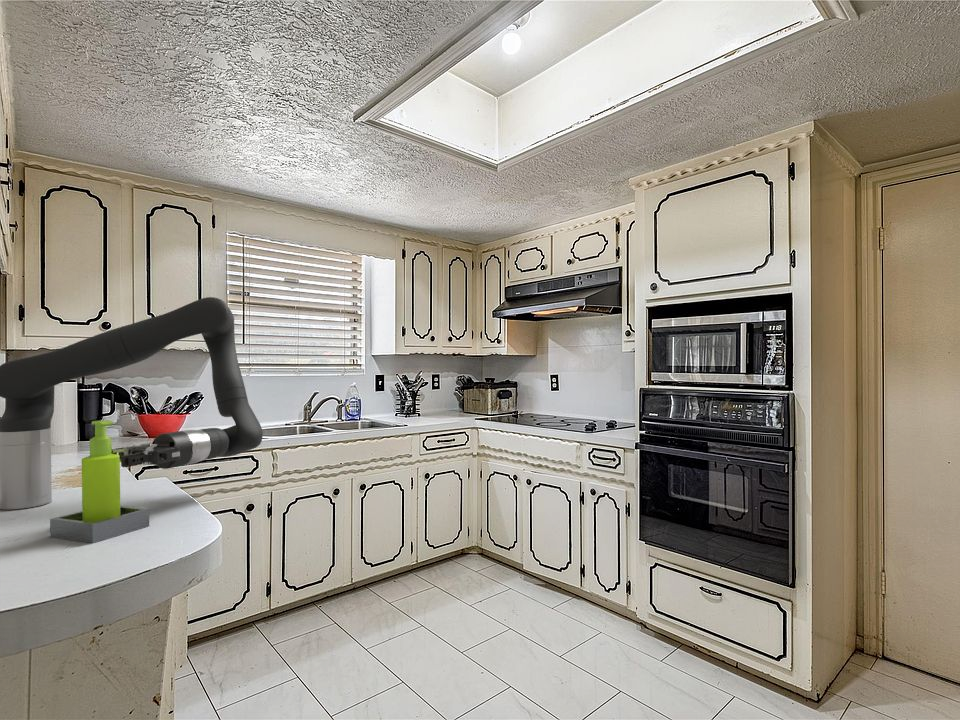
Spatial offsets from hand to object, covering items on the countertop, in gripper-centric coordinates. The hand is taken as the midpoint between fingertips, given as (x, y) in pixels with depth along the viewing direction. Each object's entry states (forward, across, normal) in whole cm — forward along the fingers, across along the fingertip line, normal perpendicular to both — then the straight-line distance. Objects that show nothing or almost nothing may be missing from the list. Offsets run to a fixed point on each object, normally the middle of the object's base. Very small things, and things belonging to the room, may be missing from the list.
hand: (107, 460), depth 103 cm
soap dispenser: (+1, 0, +12) cm, 12 cm away
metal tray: (+1, 0, +13) cm, 13 cm away
